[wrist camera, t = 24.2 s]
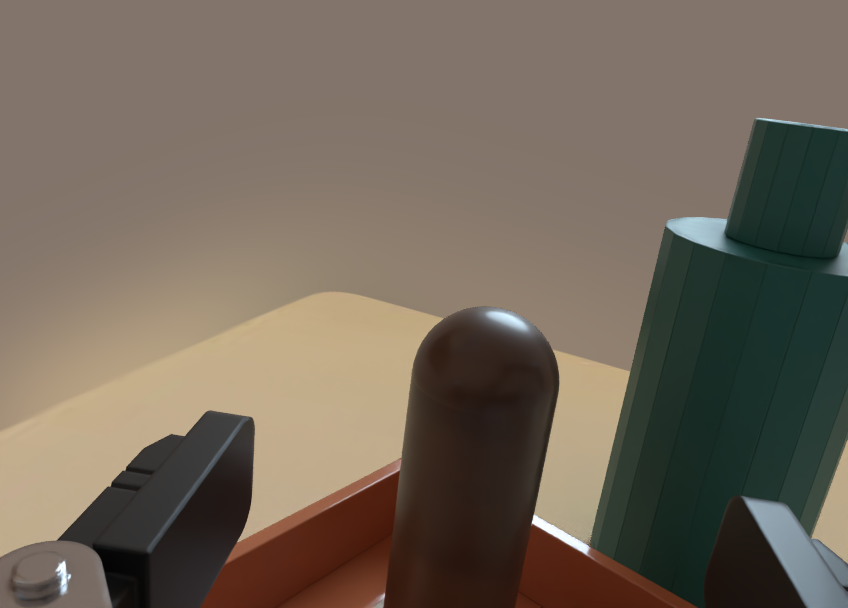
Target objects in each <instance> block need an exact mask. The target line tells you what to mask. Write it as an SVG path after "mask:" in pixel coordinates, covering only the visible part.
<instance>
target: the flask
mask: <svg viewBox="0 0 848 608" xmlns="http://www.w3.org/2000/svg"><path fill="white" fill-rule="evenodd" d="M847 229H848V129H841V128H834V127H826V126H819V125H811V124H803V123H795V122H788V121H779V120H771V119H761V118H755V120H754V123H753V126H752V130H751V134H750V138H749V141H748V145H747V149H746V153H745V156H744V160H743V164H742V167H741V171H740V175H739V179H738V182H737V186H736V190H735V193H734V198H733V201H732V205H731V208H730V212H729V216H728V219H727V220H726V219H716V218H700V217H697V218H696V217H694V218H677V219H673V220H669V221H667V223H666V226H665V229H664V234H663V238H662V242H661V247H660V251H659V255H658V259H657V263H656V267H655V272H654V275H653V280H652V284H651V288H650V292H649V296H648V301H647V305H646V309H645V313H644V317H643V322H642V326H641V330H640V334H639V338H638V343H637V347H636V351H635V355H634V360H633V363H632V368H631V372H630V376H629V380H628V384H627V389H626V393H625V397H624V401H623V405H622V410H621V414H620V418H619V422H618V426H617V430H616V435H615V439H614V443H613V447H612V451H611V456H610V460H609V464H608V468H607V472H606V477H605V481H604V485H603V489H602V493H601V498H600V502H599V506H598V510H597V514H596V518H595V523H594V527H593V531H592V537H591V545H590V547H592V548H594V549H596V550H597V551H599V552H601V553H603V554H604V555H606V556H608V557H610V558H612V559H613V560H615V561H617V562H619V563H620V564H622V565H624V566H626V567H627V568H629V569H631V570H633V571H634V572H636V573H638V574H640V575H642V576H643V577H645V578H647V579H649V580H650V581H652V582H654V583H656V584H657V585H659V586H661V587H663V588H665V589H666V590H668V591H670V592H672V593H673V594H675V595H677V596H679V597H680V598H682V599H684V600H686V601H687V602H689V603H691V604H693V605H695V606H696V607H698V608H706V606H705V600H704V580H705V574H706V570H707V567H708V563H709V560H710V557H711V554H712V551H713V548H714V544H715V541H716V538H717V535H718V532H719V528H720V525H721V522H722V519H723V516H724V512H725V509H726V507H727V504H728V502H729V501H730V499H731V498H732V497H733V496H735V495H739V496H745V497H751V498H757V499H764V500H770V501H776V502H782V503H785V504H786V505H788V507H789V508H790V509H791V511H792V512H793V514H794V515H795V517H796V518H797V520H798V521H799V523H800V524H801V525H802V527H803V528H804V530H805V531H806V533H807V534H808V536H809V537H810V538H811V537H812V534H813V532H814V529H815V526H816V524H817V521H818V518H819V515H820V513H821V510H822V507H823V505H824V502H825V499H826V496H827V494H828V491H829V488H830V486H831V483H832V480H833V477H834V475H835V472H836V469H837V466H838V464H839V461H840V458H841V456H842V453H843V450H844V447H845V445H846V442H847V439H848V243H845V242H843V241H844V238H845V235H846V232H847Z"/></svg>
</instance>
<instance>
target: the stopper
mask: <svg viewBox="0 0 848 608" xmlns="http://www.w3.org/2000/svg"><path fill="white" fill-rule="evenodd" d="M558 391H559V371H558V365H557V361H556V358H555V355H554V352H553V350H552V348H551V346H550V344H549V342H548V341H547V340H546V338H545V337H544V335H543V334H542V333H541V332H540V331H539V330H538V329H537V327H536V326H534V325H533V324H532V323H530V322H529V321H528V320H527V319H525V318H524V317H522V316H520V315H518V314H516V313H514V312H511V311H509V310H505V309H502V308H496V307H483V306H482V307H473V308H468V309H464V310H461V311H458V312H456V313H454V314H452V315H450V316H448V317H446V318H444V319H443V320H442V321H441V322H439V323H438V324H437V325H436V326H434V328H433V329H432V330H431V331H430V332H429V333H428V334H427V336H426V337H425V339H424V340H423V341H422V343H421V345H420V347H419V349H418V351H417V354H416V357H415V360H414V364H413V369H412V376H411V384H410V392H409V401H408V409H407V417H406V425H405V433H404V442H403V450H402V458H401V466H400V474H399V483H398V491H397V499H396V507H395V515H394V524H393V532H392V540H391V548H390V556H389V565H388V573H387V581H386V589H385V597H384V598H383V599H382V600H380V601H379V602H378V603H377V604H376V605H375V606H374V607H373V608H515V605H516V600H517V595H518V590H519V586H520V581H521V576H522V571H523V566H524V561H525V556H526V551H527V546H528V541H529V536H530V531H531V526H532V521H533V516H534V511H535V507H536V502H537V497H538V492H539V487H540V482H541V477H542V472H543V467H544V462H545V457H546V452H547V447H548V442H549V437H550V432H551V427H552V423H553V418H554V413H555V408H556V403H557V398H558Z"/></svg>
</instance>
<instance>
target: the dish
mask: <svg viewBox="0 0 848 608" xmlns="http://www.w3.org/2000/svg"><path fill="white" fill-rule="evenodd" d="M400 466H401V458H400V459H398V460H396V461H394V462H393V463H391V464H389V465H387V466H385V467H383V468H381V469H379V470H377V471H375V472H373V473H371V474H369V475H367V476H365V477H364V478H362V479H360V480H358V481H356V482H354V483H352V484H350V485H348V486H346V487H344V488H342V489H340V490H338V491H336V492H335V493H333V494H331V495H329V496H327V497H325V498H323V499H321V500H319V501H317V502H315V503H313V504H311V505H309V506H307V507H305V508H304V509H302V510H300V511H298V512H296V513H294V514H292V515H290V516H288V517H286V518H284V519H282V520H280V521H278V522H276V523H275V524H273V525H271V526H269V527H267V528H265V529H263V530H261V531H259V532H257V533H255V534H253V535H251V536H249V537H247V538H246V539H244V540H242V541H240V542H238V543H236V545H235V546H234V548H233V550H232V552H231V554H230V555H229V557H228V559H227V561H226V563H225V564H224V566H223V568H222V570H221V571H220V573H219V575H218V577H217V579H216V580H215V582H214V584H213V586H212V588H211V589H210V591H209V593H208V595H207V597H206V598H205V600H204V602H203V604H202V606H201V607H200V608H373V607H374V606H375V605H376V604H377V603H378V602H379V601H380V600H382V599H383V598H384V597H385V589H386V581H387V573H388V565H389V556H390V548H391V540H392V532H393V524H394V515H395V507H396V499H397V491H398V483H399V474H400ZM515 608H698V607H696V606H695V605H693V604H691V603H689V602H687V601H686V600H684V599H682V598H680V597H679V596H677V595H675V594H673V593H672V592H670V591H668V590H666V589H665V588H663V587H661V586H659V585H657V584H656V583H654V582H652V581H650V580H649V579H647V578H645V577H643V576H642V575H640V574H638V573H636V572H634V571H633V570H631V569H629V568H627V567H626V566H624V565H622V564H620V563H619V562H617V561H615V560H613V559H612V558H610V557H608V556H606V555H604V554H603V553H601V552H599V551H597V550H596V549H594V548H592V547H590V546H589V545H587V544H585V543H583V542H581V541H580V540H578V539H576V538H574V537H573V536H571V535H569V534H567V533H566V532H564V531H562V530H560V529H559V528H557V527H555V526H553V525H551V524H550V523H548V522H546V521H544V520H543V519H541V518H539V517H537V516H536V515H534V516H533V521H532V526H531V531H530V536H529V541H528V546H527V551H526V556H525V561H524V566H523V571H522V576H521V581H520V586H519V590H518V595H517V600H516V605H515Z"/></svg>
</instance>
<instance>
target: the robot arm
mask: <svg viewBox="0 0 848 608" xmlns="http://www.w3.org/2000/svg"><path fill="white" fill-rule="evenodd" d="M254 435H255V426H254V421H253V418H252V417H247V416H241V415H235V414H228V413H222V412H216V411H207V412H206V413H205V414H204V415H203V416H202V417H201V418H200V419H199V421H198V422H197V423H196V424H195V425H194V426H193V427H192V429H191V430H190V431H189V432H188V433H187V434H186V436H179V435H173V434H171V435H169V436H167V437H165V438H163V439H161V440H159V441H157V442H155V443H153V444H151V445H149V446H147V447H145V448H144V449H143V450H142V451H141V452H140V453H139V454H138V455H137V456H136V457H135V458H134V459H133V460H132V461H131V463H130V464H129V465H128V466H127V467H126V470H125V471H122V472H121V473H120V474H119V475H118V476H117V477H116V478H115V479H114V481H113V482H112V484H111V487H107V488H106V489H105V490H104V491H103V492H102V493H101V494H100V495H99V496H98V497H97V498H96V500H95V501H94V502H93V503H92V504H91V505H90V506H89V507H88V508H87V509H86V510H85V511H84V512H83V513H82V514H81V515H80V516H79V518H78V519H77V520H76V521H75V522H74V523H73V524H72V525H71V526H70V527H69V528H68V529H67V530H66V531H65V532H64V533H63V534H62V535H61V537H60V538H59V539H58V540H57V541H46V542H40V543H35V544H31V545H28V546H24V547H22V548H19V549H16V550H14V551H12V552H10V553H8V554H6V555H4V556H2V557H1V558H0V608H200V607H201V606H202V604H203V602H204V600H205V598H206V597H207V595H208V593H209V591H210V589H211V588H212V586H213V584H214V582H215V580H216V579H217V577H218V575H219V573H220V571H221V570H222V568H223V566H224V564H225V563H226V561H227V559H228V557H229V555H230V554H231V552H232V550H233V548H234V546H235V545H236V543H237V541H238V539H239V537H240V536H241V534H242V532H243V529H244V527H245V524H246V521H247V518H248V514H249V510H250V505H251V499H252V482H253V458H254ZM704 600H705V606H706V608H848V564H847V563H846V562H845V561H843V560H842V559H841V558H840V557H839V556H837V555H836V554H835V553H834V552H833V551H831V550H830V549H829V548H828V547H826V546H825V545H824V544H823V543H822V542H820V541H819V540H817V539H811V538H810V537H809V536H808V534H807V533H806V531H805V530H804V528H803V527H802V525H801V524H800V523H799V521H798V520H797V518H796V517H795V515H794V514H793V512H792V511H791V509H790V508H789V507H788V505H786V504H785V503H782V502H776V501H770V500H764V499H757V498H751V497H745V496H739V495H735V496H733V497H732V498H731V499H730V501H729V502H728V504H727V507H726V509H725V512H724V516H723V519H722V522H721V525H720V528H719V532H718V535H717V538H716V541H715V544H714V548H713V551H712V554H711V557H710V560H709V563H708V567H707V570H706V574H705V580H704Z"/></svg>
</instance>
